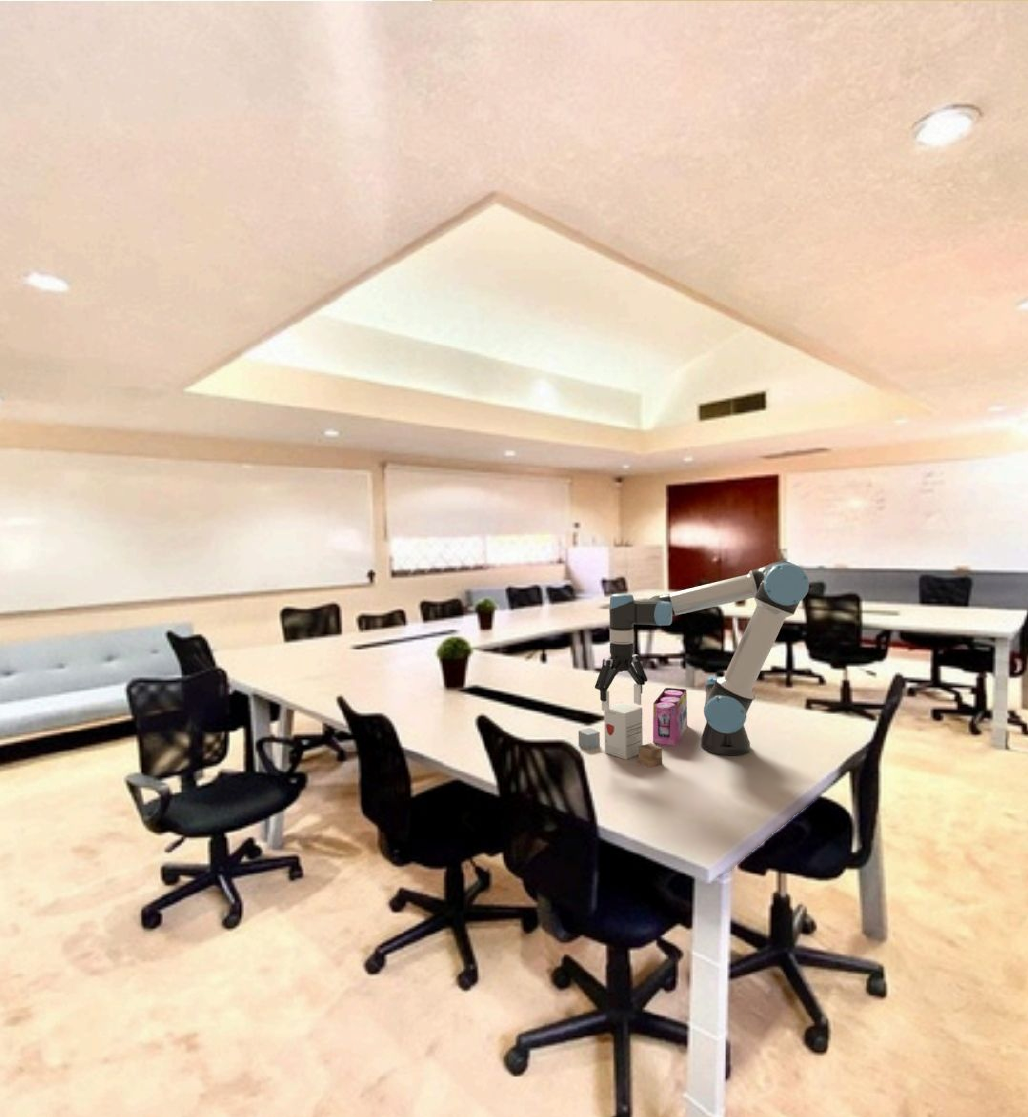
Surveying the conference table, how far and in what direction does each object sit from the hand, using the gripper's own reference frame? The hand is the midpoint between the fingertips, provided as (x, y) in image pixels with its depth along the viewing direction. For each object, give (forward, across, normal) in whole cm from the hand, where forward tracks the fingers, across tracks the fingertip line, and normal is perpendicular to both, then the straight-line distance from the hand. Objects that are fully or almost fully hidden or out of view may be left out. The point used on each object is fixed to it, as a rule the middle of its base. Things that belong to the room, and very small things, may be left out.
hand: (621, 707), depth 193 cm
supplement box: (+15, 0, 0) cm, 15 cm away
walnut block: (+15, -1, +11) cm, 19 cm away
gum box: (+15, -26, -4) cm, 30 cm away
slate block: (+15, +5, -11) cm, 19 cm away
